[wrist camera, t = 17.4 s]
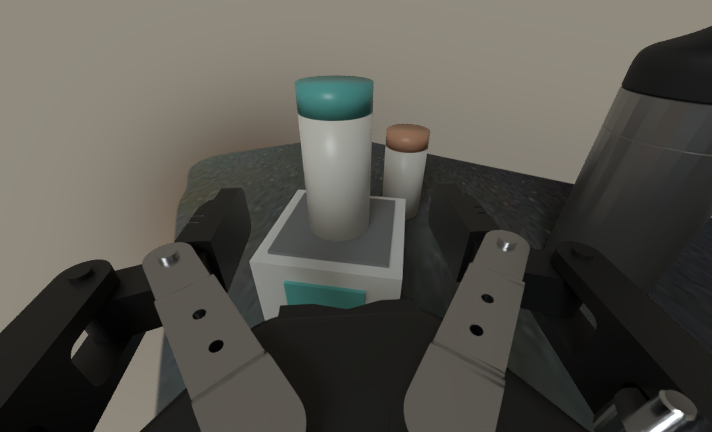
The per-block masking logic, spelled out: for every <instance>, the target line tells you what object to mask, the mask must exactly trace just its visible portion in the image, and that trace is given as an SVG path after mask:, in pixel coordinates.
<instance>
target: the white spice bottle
mask: <svg viewBox="0 0 712 432" xmlns="http://www.w3.org/2000/svg"><path fill="white" fill-rule="evenodd" d="M386 135H387V136H386V149H385V164H384V179H383V195H382V197H390V198H402V199H406V203H405V220H408V219H412V218H414V217H415V216H417V214H418V210H419V203H420V196H421V190H422V183H423V176H424V170H425V163H426V156H427V149H428V142H429V136H430V130H429V129H427V128H425V127H422V126H419V125H413V124H397V125H393V126H390V127H388V128H387V133H386Z"/></svg>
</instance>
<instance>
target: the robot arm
mask: <svg viewBox="0 0 712 432" xmlns="http://www.w3.org/2000/svg"><path fill="white" fill-rule="evenodd" d="M711 216H712V26H710V27H708V28H706V29H703V30H700V31H697V32H694V33H691V34H688V35H684V36H681V37H677V38H673V39H670V40H666V41H662V42H658V43H655V44H652V45H650V46H648V47H646V48H644V49H643V50H641V52H639V53H638V55H637V56H636V57H635V58H634V60H633V62H632V64H631V65H630V67H629V69H628V72H627V74H626V76H625V78H624V80H623V82H622V86H621V87H620V89H619V91H618V93H617V95H616V97H615V99H614V101H613V104H612V106H611V108H610V110H609V112H608V114H607V116H606V118H605V121H604V123H603V125H602V127H601V130H600V132H599V134H598V136H597V138H596V140H595V142H594V145H593V146H592V149H591V151H590V153H589V155H588V157H587V159H586V161H585V164H584V165H583V168H582V170H581V172H580V174H579V176H578V178H577V180H576V182H575V184H574V186H573V189H572V191H571V193H570V195H569V197H568V199H567V201H566V203H565V205H564V208H563V210H562V212H561V214H560V216H559V218H558V220H557V222H556V224H555V226H554V228H553V230H552V232H551V235H550V237H549V239H548V241H547V243H546V245H545V247H544V250H538V249H532V248H530V246H529V244H528V242H527V241H526V240H525V239H524V238H522V237H521V236H519V235H517V234H515V233H512V232H509V231H504V230H501V229H500V228H499V227H498V226H497V224H496V223H495V222H494V221H493V220H492V218H491V217H490V216H489V215H488V214H486V211H485V210H484V209H483V208H482V206H481V205H480V204H479V203H478V201H477V200H476V199H475V198H473V197H471V196H470V195H468V194H466V193H462V192H461V191H460V189H459V188H458V187H457V185H456V184H455V183H454V182H446V183H435V185H434V187H433V192H432V198H431V204H430V210H429V226H430V229H431V231H432V233H433V235H434V237H435V239H436V241H437V243H438V245H439V247H440V249H441V251H442V253H443V255H444V257H445V260H446V262H447V264H448V266H449V268H450V270H451V272H452V274H453V276H454V278H455V280H456V282H461V283H460V285H459V287H458V289H457V292H456V294H455V296H454V298H453V300H452V302H451V304H450V306H449V308H448V311H447V313H446V315H445V317H444V319H442V318H440V317H438V316H436V315H434V314H432V313H429V312H426V311H423V310H419V309H415V308H414V305H413V301H412V298H411V299H392V300H379V301H375V302H372V303H368V304H364V305H361V306H357V307H354V308H350V309H343V308H336V307H330V306H324V305H318V304H298V305H280V308H279V314H278V316H277V317H274V318H271V319H268V320H266V321H264V322H262V323H260V324H258V325H256V326H254V327H253V328H251V329H250V328H249V327H248V325H247V324H246V322H245V321H244V319H243V318H242V316H241V315H240V313H239V312H238V310H237V309H236V307H235V306H234V304H233V303H232V301H231V299H230V298H229V296H228V295H227V293H228V291H229V288H230V286H231V283H232V280H233V278H234V275H235V272H236V270H237V267H238V265H239V262H240V259H241V257H242V254H243V251H244V249H245V246H246V243H247V241H248V238H249V236H250V232H251V220H250V216H249V211H248V207H247V203H246V198H245V194H244V191H243V189H242V188H222V189H221V190H220V191H219V193H218V194H217V196H216V197H215V199H214V200H209V201H208V202H206V203H205V204H203V205H202V206H200V207H199V208H198V209H197V211H196V212H195V214H194V215H193V217H192V218H191V219H190V221H189V223H187V225H186V226H185V228H184V229H183V230H182V232H181V233H180V235H179V236H178V238H177V239H176V240H175V242H174V243H170V244H166V245H163V246H161V247H158V248H156V249H154V250H153V251H151V252H150V253H149V254H148V255H147V256H146V257H145V258H144V260H143V262H142V264H141V265H137V266H134V267H129V268H125V269H121V270H117V271H115V270H114V269H113V267H112V265H111V264H110V263H109V262H108V261H106V260H91V261H87V262H83V263H80V264H77V265H75V266H72V267H70V268H69V269H66V270H65V271H63V272H62V273H60V274H59V275H58V276H57V277H56V278H54V279H53V280H52V281H51V282H50V283H49V284H48V286H46V288H44V289H43V291H42V292H41V293H40V294H39V295H38V296H37V297H36V298H35V299H34V300H33V301H32V302H31V303H30V304H29V305H28V306H27V307H26V308H25V309H24V310H23V311H22V312H21V313H20V314H19V315H18V316H17V317H16V318H15V319H14V320H13V321H12V322H11V323H10V324H9V325H8V326H7V327H6V328H5V329H4V330H3V331H2V332H1V333H0V432H93V431H94V430H95V427H96V425H97V424H98V422H99V420H100V418H101V416H102V414H103V412H104V410H105V409H106V407H107V405H108V403H109V401H110V399H111V397H112V395H113V393H114V391H115V390H116V388H117V385H118V384H119V382H120V380H121V378H122V376H123V374H124V373H125V371H126V369H127V367H128V365H129V363H130V361H131V359H132V357H133V355H134V353H135V352H136V350H137V348H138V346H139V344H140V342H141V340H142V338H143V336H144V334H145V333H146V331H149V330H153V329H156V328H159V327H162V326H163V327H164V330H165V332H166V335H167V338H168V340H169V343H170V346H171V348H172V351H173V353H174V356H175V359H176V361H177V364H178V366H179V369H180V372H181V374H182V377H183V379H184V382H185V385H186V387H187V388H186V389H184V390H183V391H182V392H181V393H180V394H179V395H178V396H177V397H176V398H175V399H174V400H173V401H172V402H171V403H170V404H169V405H167V406H166V407H165V408H164V409H163V410H162V411H161V412H160V413H159V414H158V415H157V416H156V417H155V418H154V419H153V420H152V421H151V422H150V423H148V424H147V425H146V427H144V428H143V429H142V430H141V431H140V432H589V431H588V430H587V429H585V428H584V427H583V426H582V425H580V424H579V423H578V422H576V421H575V420H574V419H573V418H571V417H570V416H569V415H567V414H566V413H565V412H563V411H562V410H561V409H560V408H558V407H557V406H556V405H554V404H553V403H552V402H551V401H549V400H548V399H547V398H545V397H544V396H543V395H542V394H540V393H539V392H538V391H536V390H535V389H534V388H533V387H531V386H530V385H529V384H527V383H526V382H525V381H524V380H522V379H521V378H520V377H518V376H517V375H516V374H515V373H513V372H512V371H511V370H509V369H508V368H507V362H508V358H509V353H510V349H511V344H512V340H513V336H514V331H515V327H516V322H517V318H518V313H519V309H520V308H523V309H528V310H530V312H531V313H532V315H533V316H534V318H535V320H536V321H537V323H538V325H539V326H540V328H541V329H542V331H543V333H544V334H545V336H546V337H547V339H548V341H549V342H550V344H551V346H552V347H553V349H554V350H555V352H556V354H557V355H558V357H559V358H560V360H561V362H562V363H563V365H564V367H565V368H566V370H567V371H568V373H569V375H570V376H571V378H572V379H573V381H574V383H575V384H576V386H577V388H578V389H579V391H580V392H581V394H582V396H583V397H584V399H585V401H586V402H587V404H588V405H589V407H590V409H591V410H592V412H593V413H594V415H595V416H594V418H593V428H594V432H712V355H711V354H710V353H709V352H708V351H707V350H706V349H705V348H704V347H703V346H702V345H700V344H699V343H698V342H697V341H696V340H695V339H694V338H693V337H692V336H691V335H690V334H689V333H687V332H686V331H685V330H684V329H683V328H682V327H681V326H680V325H679V324H678V323H677V322H676V321H674V320H673V319H672V318H671V317H670V316H669V315H668V314H667V313H666V312H665V311H664V310H663V309H662V308H660V307H659V306H658V305H657V304H656V303H655V302H654V301H653V300H652V299H651V298H650V297H649V296H647V293H648V292H649V291H650V290H651V288H652V287H653V286H654V285H655V284H656V282H657V281H658V280H659V279H660V278H661V276H662V275H663V274H664V273H665V272H666V270H667V269H668V268H669V267H670V266H671V265H672V264H673V262H674V261H675V260H676V259H677V257H678V256H679V255H680V254H681V253H682V251H683V250H684V249H685V248H686V246H687V245H688V244H689V243H690V242H691V240H692V239H693V238H694V237H695V236H696V234H697V233H698V232H699V231H700V229H701V228H702V227H703V226H704V225H705V223H706V222H707V221H708V220H709V218H710V217H711ZM583 303H584V304H585V305H586V306H587V308H588V309H589V310H590V311H591V312H592V314H593V315H594V317H595V319H596V323H597V329H596V330H595V329H594V327H593V326H592V325H591V324H590V322H589V321H588V320H587V318H586V317H585V316H584V315H583V313H582V312H581V311H580V310H579V308H580V307H581V305H582V304H583ZM84 330H85V331H86V332H87V334H88V336H87V338H86V339H85V341H84V342H83V343H82V345H81V346H80V348H79V349H78V351H77V352H76V353H75V355H74V356H73V358H72V359H71V350H72V347H73V345H74V343H75V342H76V340H77V339H78V338H79V336H80V335H81V334H82V332H83V331H84Z"/></svg>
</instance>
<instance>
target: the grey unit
mask: <svg viewBox="0 0 712 432" xmlns="http://www.w3.org/2000/svg"><path fill="white" fill-rule="evenodd" d="M405 203H406V199H402V198H390V197H378V196H370V209H369V227H368V229H367V230H366V232H365V233H364V234H362V235H361V236H359V237H357V238H355V239H352V240H347V241H329V240H325V239H322V238H320V237H318V236H316V235H315V234H314V233H313V232H312V231H311V229H310V224H309V214H308V205H307V195H306V190H298V191H297V192H296V194H295V195H294V197H293V198H292V200H291V201H290V203H289V204H288V206H287V207H286V208H285V210H284V211H283V213H282V214H281V216H280V217H279V219H278V220H277V222H276V223H275V225H274V226H273V228H272V229H271V230H270V232H269V233H268V235H267V236H266V238H265V239H264V241H263V242H262V244H261V245H260V247H259V248H258V250H257V251H256V252H255V254H254V255H253V257H252V258H251V260H250V261H249V262H250V266H251V269H252V273H253V277H254V281H255V285H256V288H257V292H258V296H259V300H260V304H261V307H262V311H263V315H264V319H265V321H266V320H268V319H271V318H274V317H277V316H278V314H279V308H280V305H298V304H318V305H324V306H330V307H336V308H343V309H350V308H354V307H357V306H361V305H364V304H368V303H372V302H375V301H379V300H392V299H400V294H401V286H402V276H403V252H404V227H405Z"/></svg>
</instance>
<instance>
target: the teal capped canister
mask: <svg viewBox="0 0 712 432" xmlns="http://www.w3.org/2000/svg"><path fill="white" fill-rule="evenodd" d="M295 91H296V101H297V110H298V120H299V129H300V139H301V148H302V158H303V167H304V176H305V186H306V195H307V205H308V214H309V224H310V229H311V231H312V232H313V233H314V234H315V235H316V236H318V237H320V238H322V239H325V240H329V241H347V240H352V239H355V238H357V237H359V236H361V235H362V234H364V233H365V232H366V230H367V229H368V227H369V209H370V176H371V144H372V112H373V81H372V80H370V79H367V78H363V77H355V76H317V77H308V78H304V79H299V80H297V81H295Z"/></svg>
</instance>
